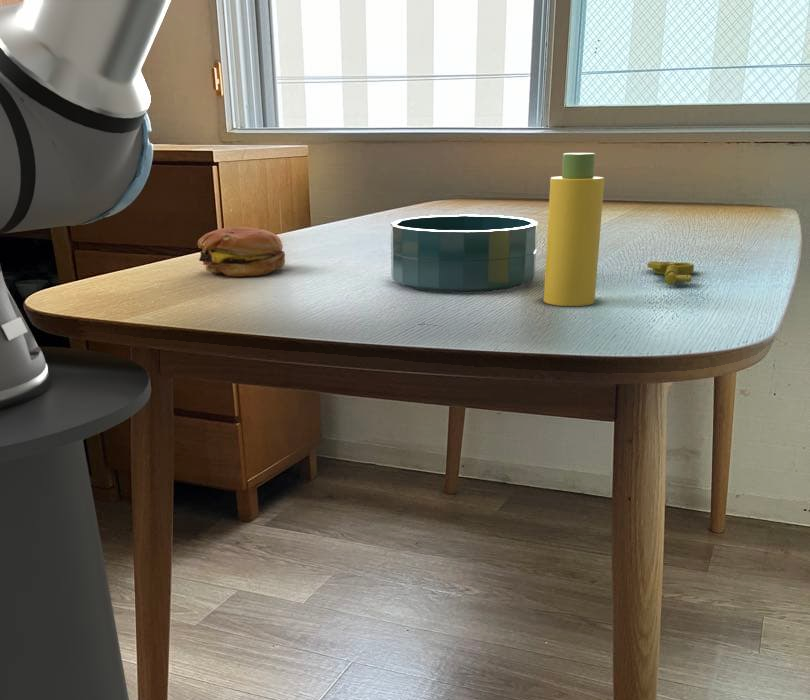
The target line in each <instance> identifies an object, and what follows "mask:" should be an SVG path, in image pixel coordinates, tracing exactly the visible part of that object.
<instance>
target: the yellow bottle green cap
mask: <svg viewBox="0 0 810 700" xmlns="http://www.w3.org/2000/svg"><path fill="white" fill-rule="evenodd" d="M595 159H596V154H595V152H565V153H563V155H562V167H561V169H562V170H561V176H560V175H559V176H551V177H550V183H549V199H548V201H549V202H548V219H547V234H546V251H545V252H546V255H545V270H544V287H543V302H544V303H545V304H549V305H551V306H559V307H584V306H590V305H593V304H594V303H595V298H596V286H597V274H598V264H599V253H600V252H599V250H600V238H601V226H602V215H603V201H604V189H605V177H603V176H594V175H595V173H594V172H595Z"/></svg>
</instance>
